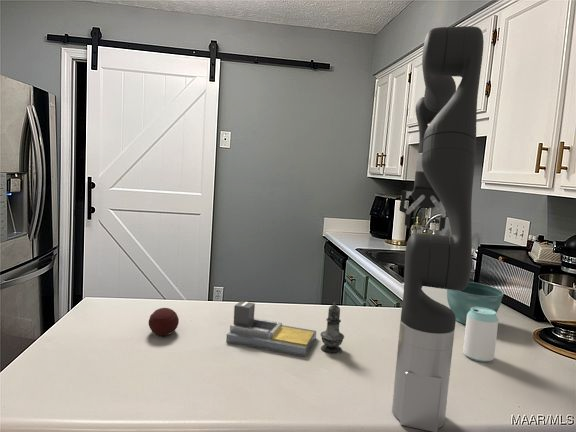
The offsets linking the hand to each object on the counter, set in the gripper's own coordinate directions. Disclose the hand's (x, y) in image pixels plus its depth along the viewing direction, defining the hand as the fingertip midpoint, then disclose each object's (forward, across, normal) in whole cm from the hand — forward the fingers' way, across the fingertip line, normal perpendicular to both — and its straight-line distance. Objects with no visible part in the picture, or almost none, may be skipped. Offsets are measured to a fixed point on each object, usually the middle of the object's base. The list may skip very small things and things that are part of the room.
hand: (424, 229), depth 116 cm
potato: (+30, -62, -31) cm, 75 cm away
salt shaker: (+30, -20, -23) cm, 42 cm away
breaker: (+27, -43, -24) cm, 56 cm away
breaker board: (+29, -35, -24) cm, 52 cm away
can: (+30, +15, -12) cm, 35 cm away
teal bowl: (+30, +17, +16) cm, 38 cm away
